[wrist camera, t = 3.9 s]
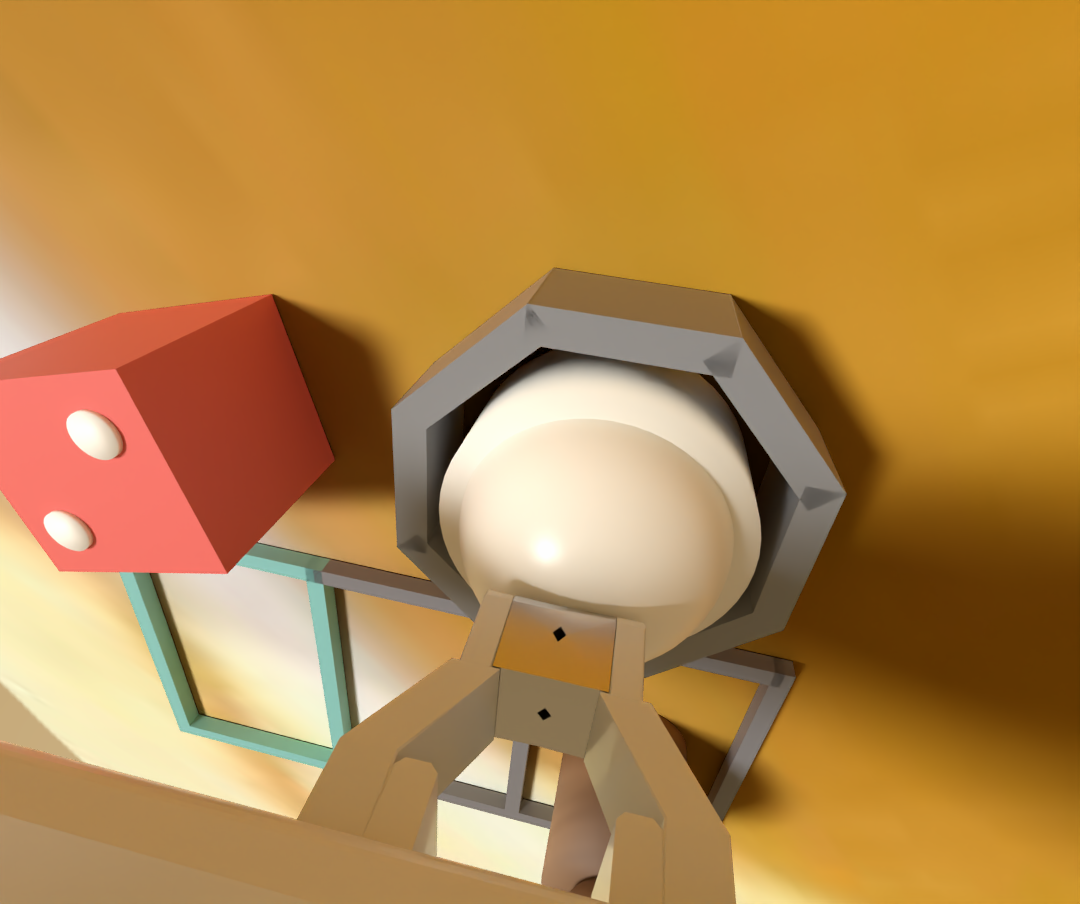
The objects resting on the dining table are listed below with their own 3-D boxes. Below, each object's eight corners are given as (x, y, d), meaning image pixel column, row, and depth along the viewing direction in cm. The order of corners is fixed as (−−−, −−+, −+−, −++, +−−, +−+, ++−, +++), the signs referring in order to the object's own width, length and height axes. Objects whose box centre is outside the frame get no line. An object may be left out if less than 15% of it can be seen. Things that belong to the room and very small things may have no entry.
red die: (271, 294, 15) (110, 371, 11) (335, 460, 18) (223, 577, 13) (118, 313, 16) (-81, 389, 12) (197, 466, 19) (54, 574, 14)
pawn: (699, 721, 20) (711, 1028, 14) (672, 789, 23) (670, 1081, 16) (574, 692, 21) (526, 974, 14) (560, 761, 23) (513, 1032, 16)
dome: (781, 360, 13) (845, 516, 8) (706, 581, 17) (719, 782, 12) (487, 312, 14) (383, 428, 9) (476, 533, 18) (397, 702, 13)
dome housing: (864, 314, 13) (907, 364, 10) (739, 623, 18) (749, 704, 15) (435, 249, 14) (385, 280, 11) (435, 557, 19) (400, 623, 16)
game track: (792, 661, 18) (795, 677, 17) (697, 852, 24) (697, 868, 24) (113, 511, 21) (99, 521, 20) (189, 719, 27) (180, 730, 27)
